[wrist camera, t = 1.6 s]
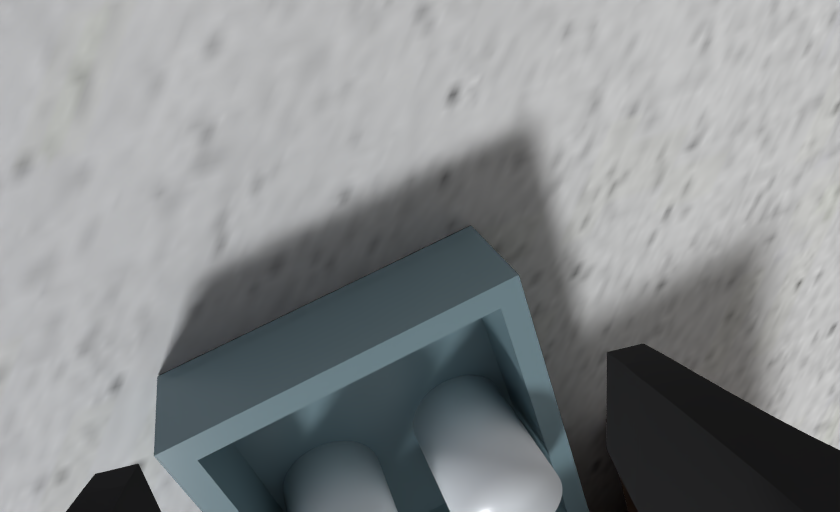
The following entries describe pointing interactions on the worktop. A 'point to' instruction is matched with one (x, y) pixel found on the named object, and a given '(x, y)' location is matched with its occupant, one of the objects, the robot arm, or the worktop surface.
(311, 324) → the tray
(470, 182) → the worktop surface
